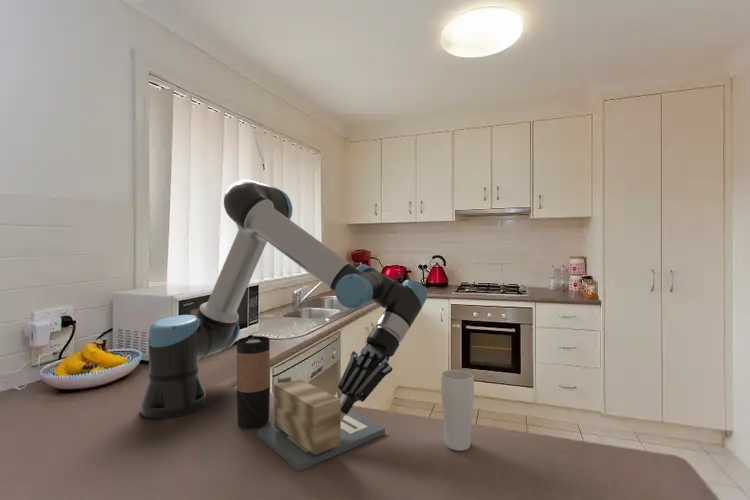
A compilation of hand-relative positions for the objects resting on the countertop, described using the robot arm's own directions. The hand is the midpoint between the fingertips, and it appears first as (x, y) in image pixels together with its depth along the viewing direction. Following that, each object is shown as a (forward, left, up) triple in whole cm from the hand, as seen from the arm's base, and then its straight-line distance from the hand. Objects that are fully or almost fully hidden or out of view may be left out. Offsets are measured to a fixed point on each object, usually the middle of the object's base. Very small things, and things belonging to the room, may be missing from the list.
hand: (331, 424), depth 80 cm
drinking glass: (+19, +19, -4) cm, 27 cm away
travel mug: (-20, -9, -4) cm, 22 cm away
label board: (-4, 0, -4) cm, 6 cm away
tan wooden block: (-4, -5, -2) cm, 6 cm away
